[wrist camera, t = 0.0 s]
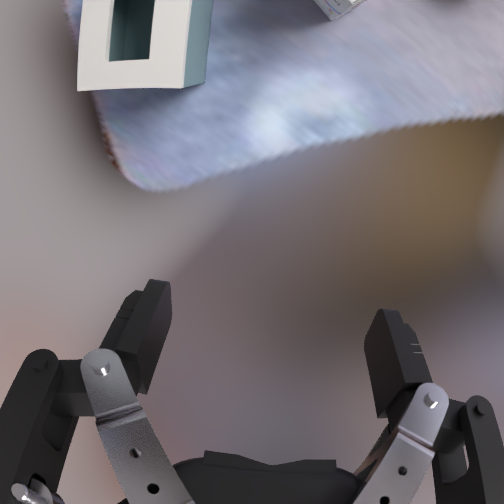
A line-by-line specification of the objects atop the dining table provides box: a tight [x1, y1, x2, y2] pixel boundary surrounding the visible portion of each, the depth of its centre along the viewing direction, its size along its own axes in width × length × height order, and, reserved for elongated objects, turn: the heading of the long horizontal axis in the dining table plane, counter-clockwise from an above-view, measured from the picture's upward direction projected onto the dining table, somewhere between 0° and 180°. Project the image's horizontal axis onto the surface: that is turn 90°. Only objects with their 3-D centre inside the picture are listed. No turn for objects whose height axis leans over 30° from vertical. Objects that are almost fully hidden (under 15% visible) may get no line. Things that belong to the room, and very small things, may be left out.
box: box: [77, 0, 213, 91], centre depth 26 cm, size 14×11×10 cm
